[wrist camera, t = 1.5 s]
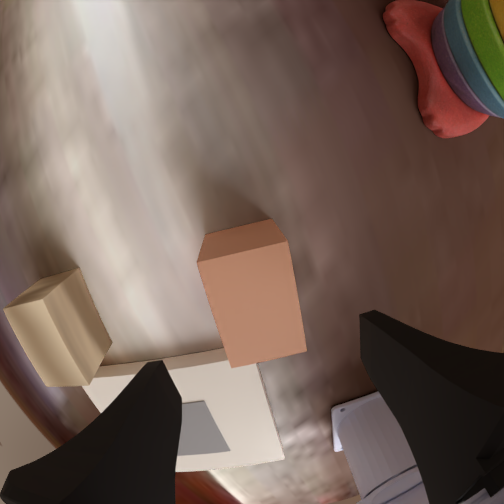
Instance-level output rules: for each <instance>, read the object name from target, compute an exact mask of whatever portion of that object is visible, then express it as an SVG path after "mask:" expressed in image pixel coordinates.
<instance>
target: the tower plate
mask: <svg viewBox="0 0 504 504" xmlns="http://www.w3.org/2000/svg"><path fill="white" fill-rule="evenodd" d="M158 360H163V362H164V364H165V366H166V368H167V370H168V372H169V374H170V376H171V378H172V380H173V382H174V384H175V386H176V388H177V390H178V391H179V393H180V395H181V397H182V425H181V433H180V440H179V447H178V454H177V462H176V470H175V472H187V471H204V470H216V469H225V468H234V467H242V466H249V465H255V464H261V463H267V462H272V461H277V460H282V459H285V456H284V451H283V446H282V443H281V440H280V437H279V433H278V430H277V427H276V424H275V420H274V417H273V414H272V410H271V407H270V404H269V400H268V397H267V393H266V390H265V387H264V383H263V380H262V376H261V373H260V369H259V366H258V363H255V364H250V365H246V366H241V367H236V368H231V366H230V363H229V360H228V358H227V355H226V352H225V349H224V348H220V349H215V350H210V351H205V352H199V353H193V354H188V355H182V356H176V357H169V358H163V359H156V360H149V361H142V362H134V363H126V364H117V365H108V366H99V368H98V370H97V372H96V374H95V376H94V378H93V379H92V381H91V383H90V385H89V386H82V387H83V388H84V390H85V391H86V393H87V394H88V396H89V397H90V399H91V400H92V402H93V403H94V404H95V406H96V407H97V409H98V410H99V411H100V413H102V412H103V411H104V410H105V409H106V408H107V407H108V406H109V405H110V404H111V403H112V401H113V400H114V399H115V398H116V397H117V396H118V395H119V394H120V393H121V391H122V390H123V389H124V388H125V387H126V386H127V385H128V383H129V382H130V381H131V380H132V379H133V378H134V376H135V375H136V374H137V373H138V372H139V371H140V370H141V368H142V367H143V366H144V365H145V364H146V363H147V362H151V361H158Z"/></svg>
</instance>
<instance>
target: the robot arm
mask: <svg viewBox="0 0 504 504" xmlns="http://www.w3.org/2000/svg"><path fill="white" fill-rule="evenodd" d="M359 318H360V350H361V359H362V362H363V364H364V366H365V368H366V371H367V373H368V375H369V377H370V379H371V381H372V382H373V384H374V385H375V387H376V388H377V390H378V392H375V393H372V394H369V395H367V396H364V397H361V398H358V399H355V400H352V401H349V402H346V403H343V404H340V405H337V406H334V407H333V408H332V409H331V417H332V432H333V449H334V451H336V452H338V451H341V450H344V453H345V456H346V458H347V461H348V464H349V467H350V469H351V472H352V475H353V477H354V480H355V483H356V486H357V488H358V491H359V494H360V497H361V499H362V500H361V501H359V502H357V504H504V353H497V352H490V351H484V350H478V349H473V348H469V347H465V346H461V345H458V344H454V343H451V342H448V341H445V340H442V339H439V338H437V337H434V336H431V335H429V334H426V333H424V332H422V331H419V330H417V329H415V328H413V327H410V326H408V325H406V324H404V323H402V322H400V321H398V320H395V319H393V318H391V317H389V316H387V315H385V314H383V313H381V312H378V311H376V310H372V311H369V312H366V313H363V314H360V315H359ZM181 425H182V397H181V395H180V393H179V391H178V390H177V388H176V386H175V384H174V382H173V380H172V378H171V376H170V374H169V372H168V370H167V368H166V366H165V364H164V362H163V360H158V361H151V362H147V363H146V364H145V365H144V366H143V367H142V368H141V370H140V371H139V372H138V373H137V374H136V375H135V376H134V378H133V379H132V380H131V381H130V382H129V383H128V385H127V386H126V387H125V388H124V389H123V390H122V391H121V393H120V394H119V395H118V396H117V397H116V398H115V399H114V400H113V401H112V403H111V404H110V405H109V406H108V407H107V408H106V409H105V410H104V411H103V412H102V413H101V414H100V415H99V416H98V417H97V418H96V419H95V420H94V421H93V422H92V423H91V424H89V425H88V426H87V427H86V428H85V429H84V430H82V431H81V432H80V433H79V434H77V435H76V436H75V437H73V438H72V439H70V440H69V441H68V442H66V443H65V444H63V445H62V446H61V447H59V448H57V449H56V450H54V451H52V452H51V453H49V454H47V455H46V456H44V457H42V458H40V459H38V460H36V461H34V462H32V463H29V464H26V465H24V466H21V467H19V468H16V469H14V470H11V471H10V472H9V474H8V477H7V479H6V481H5V483H4V486H3V488H2V490H1V493H0V497H1V499H2V500H3V501H4V502H5V503H6V504H175V470H176V462H177V454H178V447H179V440H180V433H181Z"/></svg>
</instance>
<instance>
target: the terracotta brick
mask: <svg viewBox="0 0 504 504" xmlns="http://www.w3.org/2000/svg"><path fill="white" fill-rule="evenodd" d="M197 265H198V269H199V272H200V275H201V279H202V282H203V285H204V288H205V291H206V295H207V298H208V301H209V304H210V307H211V310H212V313H213V316H214V319H215V322H216V325H217V328H218V331H219V334H220V337H221V340H222V343H223V346H224V349H225V352H226V355H227V358H228V360H229V363H230V366H231V368H236V367H241V366H246V365H250V364H255V363H260V362H264V361H269V360H273V359H277V358H281V357H285V356H289V355H293V354H297V353H301V352H305V351H307V348H306V342H305V335H304V329H303V323H302V317H301V311H300V305H299V299H298V294H297V288H296V282H295V277H294V271H293V266H292V261H291V255H290V250H289V245H288V241H287V239H286V238H285V236H284V235H283V234H282V232H281V231H280V229H279V228H278V227H277V225H276V224H275V223H274V221H273V220H272V219H268V220H264V221H260V222H255V223H251V224H247V225H243V226H238V227H234V228H230V229H226V230H222V231H218V232H214V233H209V234H205V237H204V240H203V243H202V247H201V250H200V253H199V257H198V260H197Z"/></svg>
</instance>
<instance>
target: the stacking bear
mask: <svg viewBox="0 0 504 504" xmlns="http://www.w3.org/2000/svg"><path fill="white" fill-rule="evenodd" d="M385 9H386V12H384V13H383V20H384V22H385V24H386V28H387V30H388V32H389V34H390V35H391V37H392V38H393V39H394V40H395V41H396V42H397V43H398V44H399V45H400V46H401V47H402V48H403V49H404V50H405V52H406V53H407V54H408V56H409V57H410V59H411V61H412V63H413V65H414V67H415V70H416V73H417V76H418V80H419V92H418V108H419V111H420V113H421V115H422V117H423V122H424V124H425V126H426V127H427V128H429V129H430V130H432V131H433V133H434V134H435V135H436V136H438V137H441V138H452V137H457V136H461V135H464V134H467V133H469V132H471V131H473V130H475V129H476V128H478V127H479V126H480V125H481V124H482V123H483V122H484V121H485V120H486V119H487V118H488V117H489V115H490V116H495V117H500V118H504V0H449V2H448V3H447V4H446V6H445V7H444V8H440V7H438V6H435V5H432V4H429V3H426V2H422V1H415V0H397V1H393V2H391V3H390V4H388V5H387V6H386V8H385Z"/></svg>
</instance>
